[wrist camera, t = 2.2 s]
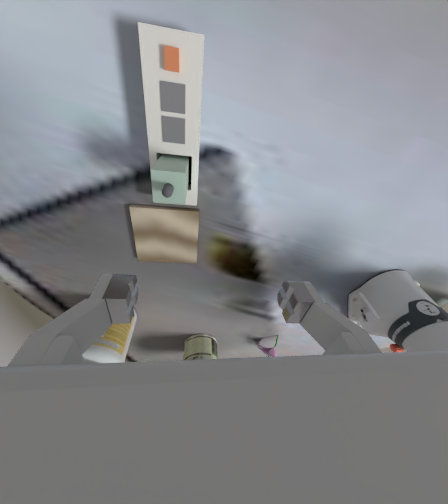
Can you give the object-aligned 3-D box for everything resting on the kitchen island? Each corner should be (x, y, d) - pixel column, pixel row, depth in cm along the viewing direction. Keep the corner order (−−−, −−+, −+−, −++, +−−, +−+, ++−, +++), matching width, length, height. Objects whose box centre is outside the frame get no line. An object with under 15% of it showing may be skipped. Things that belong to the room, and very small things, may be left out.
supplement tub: (78, 297, 48) (29, 374, 34) (131, 294, 49) (105, 367, 35) (96, 327, 55) (62, 401, 41) (142, 324, 56) (124, 395, 42)
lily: (254, 325, 63) (248, 359, 58) (294, 334, 60) (291, 371, 55) (256, 334, 73) (250, 363, 68) (290, 342, 69) (287, 374, 64)
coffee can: (223, 340, 64) (228, 391, 53) (202, 354, 68) (202, 404, 57) (198, 329, 60) (197, 382, 48) (177, 345, 63) (172, 397, 52)
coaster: (196, 260, 44) (196, 263, 44) (139, 258, 43) (138, 261, 42) (199, 209, 37) (199, 211, 37) (130, 204, 36) (129, 206, 35)
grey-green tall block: (188, 181, 34) (184, 209, 25) (164, 179, 34) (150, 207, 24) (189, 155, 32) (184, 176, 23) (163, 152, 31) (147, 173, 22)
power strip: (197, 199, 36) (196, 207, 33) (156, 195, 35) (152, 203, 32) (204, 41, 25) (204, 33, 22) (144, 30, 24) (136, 19, 21)
